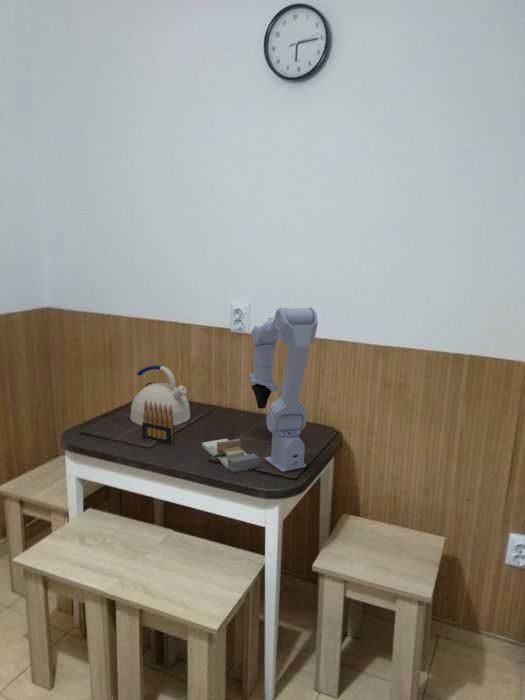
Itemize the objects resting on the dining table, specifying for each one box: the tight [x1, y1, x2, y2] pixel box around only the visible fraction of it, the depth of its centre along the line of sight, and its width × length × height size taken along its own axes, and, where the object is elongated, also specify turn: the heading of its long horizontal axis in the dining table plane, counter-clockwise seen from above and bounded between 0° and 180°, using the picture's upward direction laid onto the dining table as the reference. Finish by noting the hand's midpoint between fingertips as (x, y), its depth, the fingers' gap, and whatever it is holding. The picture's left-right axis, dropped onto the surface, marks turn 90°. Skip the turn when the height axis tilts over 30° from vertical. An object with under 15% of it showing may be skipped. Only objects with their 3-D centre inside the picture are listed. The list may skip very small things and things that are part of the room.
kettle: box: [129, 365, 191, 426], centre depth 182 cm, size 20×21×18 cm
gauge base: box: [201, 438, 260, 474], centre depth 152 cm, size 20×8×3 cm, turn 30°
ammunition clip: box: [141, 400, 176, 446], centre depth 161 cm, size 11×2×12 cm, turn 65°
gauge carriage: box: [214, 438, 245, 458], centre depth 150 cm, size 5×9×3 cm, turn 120°
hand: (261, 407), depth 167 cm, fingers closed
